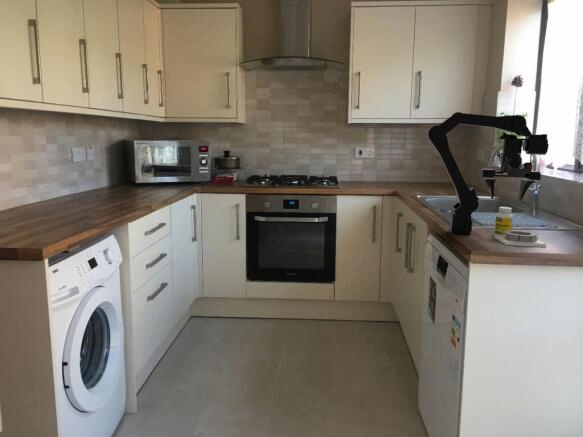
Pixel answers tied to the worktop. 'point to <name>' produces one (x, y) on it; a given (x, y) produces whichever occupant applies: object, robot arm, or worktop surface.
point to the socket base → (520, 238)
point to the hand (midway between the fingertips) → (506, 199)
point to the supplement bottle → (503, 220)
